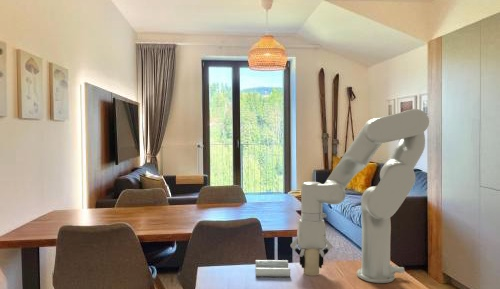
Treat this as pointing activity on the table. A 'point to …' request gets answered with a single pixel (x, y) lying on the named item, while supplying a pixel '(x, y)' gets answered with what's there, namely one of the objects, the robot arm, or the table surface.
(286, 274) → the track
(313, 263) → the candle
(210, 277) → the table surface
